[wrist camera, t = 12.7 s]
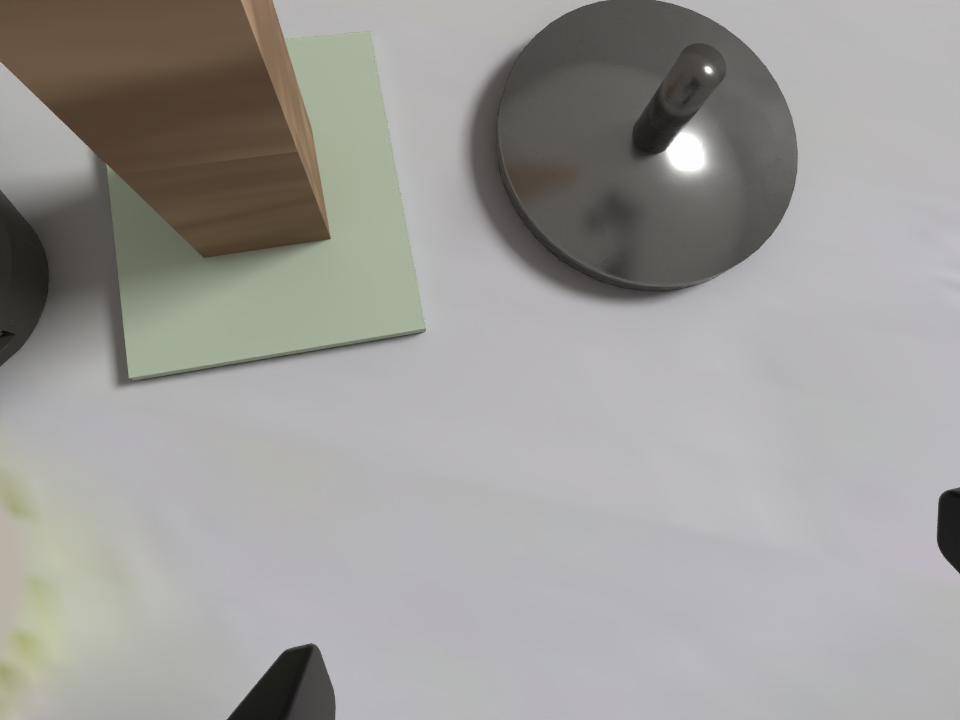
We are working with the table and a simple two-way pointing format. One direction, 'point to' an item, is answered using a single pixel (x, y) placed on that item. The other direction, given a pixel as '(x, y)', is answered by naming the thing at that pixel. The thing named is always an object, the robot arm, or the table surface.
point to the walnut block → (181, 110)
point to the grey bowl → (645, 144)
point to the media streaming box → (19, 279)
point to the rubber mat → (287, 269)
